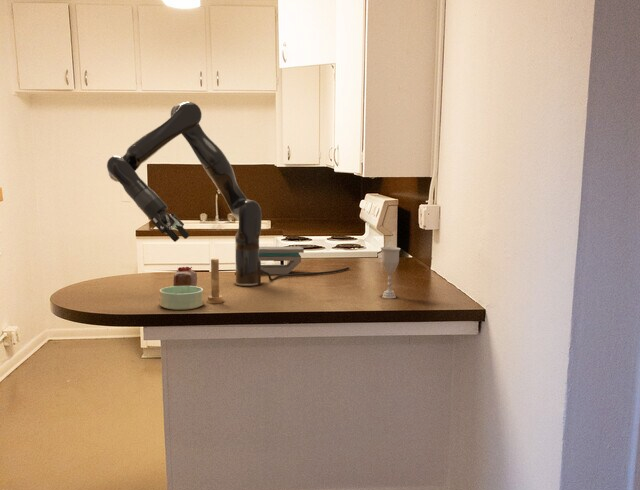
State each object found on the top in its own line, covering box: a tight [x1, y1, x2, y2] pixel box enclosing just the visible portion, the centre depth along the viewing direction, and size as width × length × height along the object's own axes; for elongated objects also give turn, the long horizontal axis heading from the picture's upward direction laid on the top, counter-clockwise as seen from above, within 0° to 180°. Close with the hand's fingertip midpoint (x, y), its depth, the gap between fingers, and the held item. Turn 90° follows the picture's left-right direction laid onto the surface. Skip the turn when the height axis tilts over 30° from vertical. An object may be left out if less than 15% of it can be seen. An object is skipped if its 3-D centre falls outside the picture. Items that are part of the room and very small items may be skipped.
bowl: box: [159, 285, 205, 311], centre depth 222 cm, size 14×14×6 cm
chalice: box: [380, 246, 401, 299], centre depth 241 cm, size 7×7×18 cm
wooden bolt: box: [207, 258, 224, 304], centre depth 228 cm, size 5×5×15 cm
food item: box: [173, 266, 198, 287], centre depth 242 cm, size 14×8×10 cm, turn 7°
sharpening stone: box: [259, 246, 305, 275], centre depth 287 cm, size 25×8×11 cm, turn 98°
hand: (182, 238), depth 228 cm, fingers open, 8 cm apart
